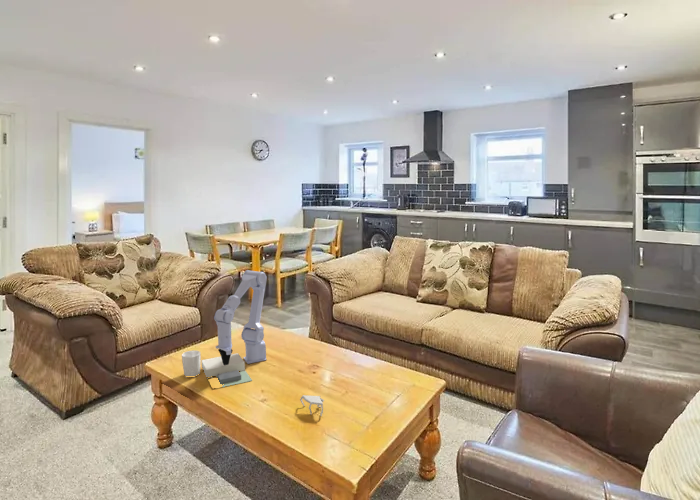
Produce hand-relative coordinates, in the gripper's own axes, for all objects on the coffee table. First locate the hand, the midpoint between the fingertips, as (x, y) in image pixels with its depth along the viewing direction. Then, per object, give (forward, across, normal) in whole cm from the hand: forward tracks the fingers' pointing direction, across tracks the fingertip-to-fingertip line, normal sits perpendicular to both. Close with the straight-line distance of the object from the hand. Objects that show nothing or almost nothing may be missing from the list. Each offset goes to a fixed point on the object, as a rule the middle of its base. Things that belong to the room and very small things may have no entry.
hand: (225, 364), depth 188 cm
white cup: (+5, -7, -14) cm, 16 cm away
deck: (+5, -6, 0) cm, 8 cm away
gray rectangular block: (+3, +6, 0) cm, 6 cm away
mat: (+5, +6, 0) cm, 8 cm away
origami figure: (+5, +46, +22) cm, 51 cm away
